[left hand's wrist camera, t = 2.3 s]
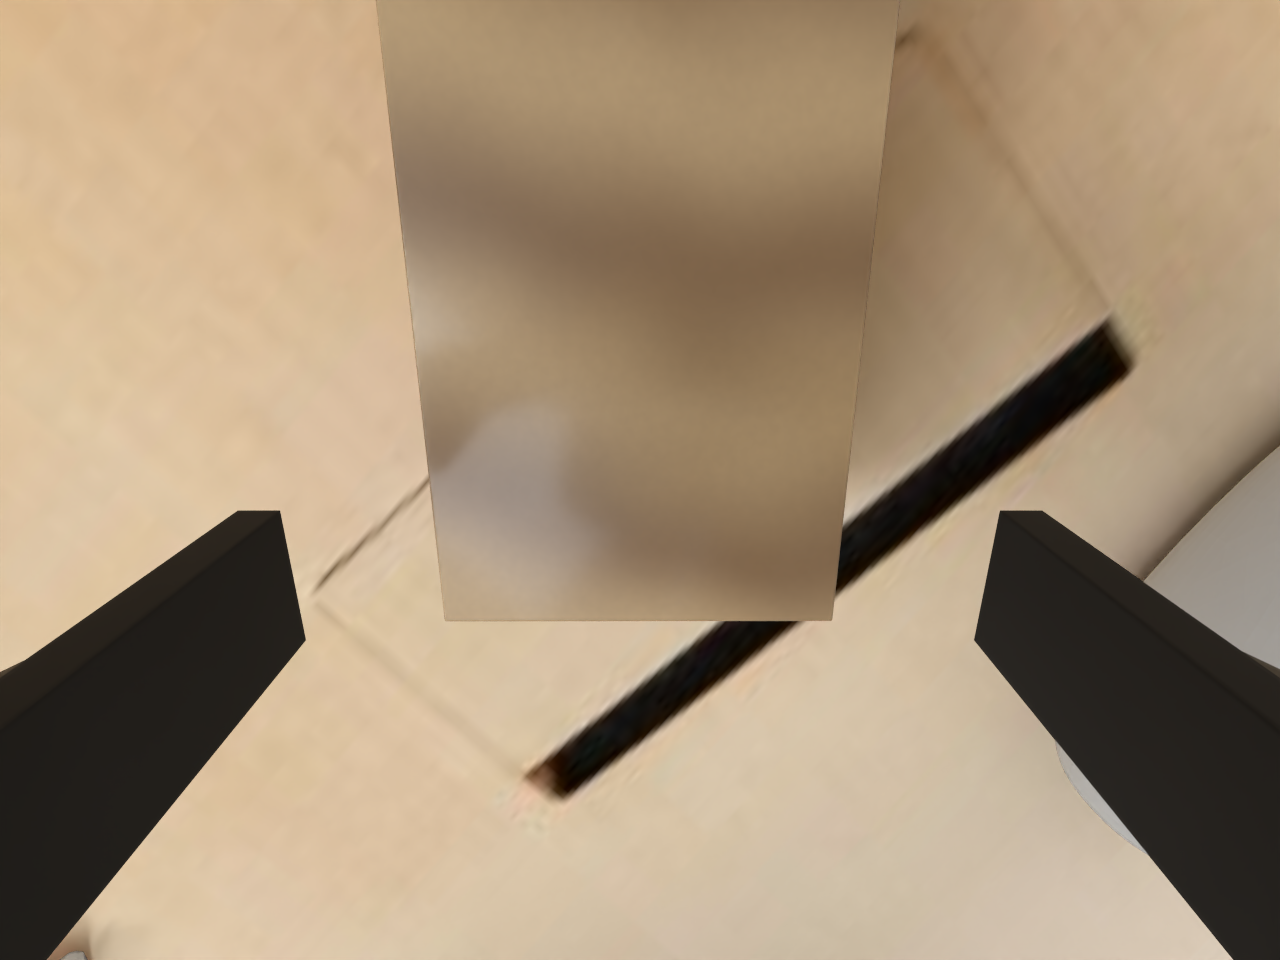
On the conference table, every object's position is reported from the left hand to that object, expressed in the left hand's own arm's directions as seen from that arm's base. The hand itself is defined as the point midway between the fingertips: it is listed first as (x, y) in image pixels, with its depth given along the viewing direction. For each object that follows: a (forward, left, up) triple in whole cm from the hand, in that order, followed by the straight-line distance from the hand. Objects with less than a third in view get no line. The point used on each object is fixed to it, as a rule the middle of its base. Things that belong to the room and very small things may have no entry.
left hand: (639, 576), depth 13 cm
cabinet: (+6, -1, -15) cm, 16 cm away
